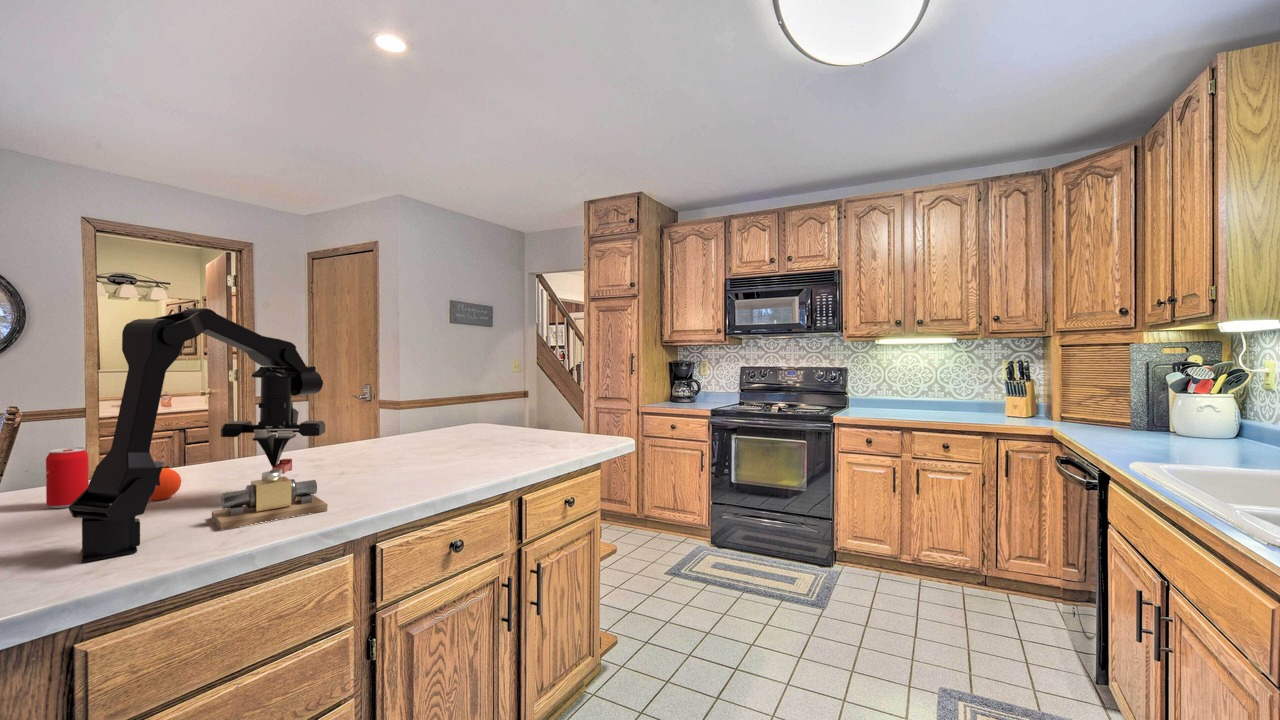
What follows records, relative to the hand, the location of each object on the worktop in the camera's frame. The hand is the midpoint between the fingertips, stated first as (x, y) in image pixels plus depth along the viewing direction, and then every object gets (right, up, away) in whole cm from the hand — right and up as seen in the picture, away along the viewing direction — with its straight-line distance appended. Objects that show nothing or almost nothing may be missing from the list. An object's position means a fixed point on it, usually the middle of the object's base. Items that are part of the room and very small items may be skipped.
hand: (274, 467), depth 121 cm
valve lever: (+4, -1, -5) cm, 6 cm away
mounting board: (+6, -8, -10) cm, 14 cm away
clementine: (-26, -7, 0) cm, 27 cm away
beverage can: (-40, -7, -6) cm, 41 cm away
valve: (+6, -6, -10) cm, 13 cm away
